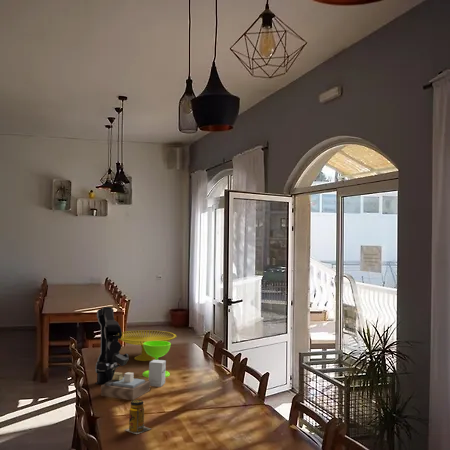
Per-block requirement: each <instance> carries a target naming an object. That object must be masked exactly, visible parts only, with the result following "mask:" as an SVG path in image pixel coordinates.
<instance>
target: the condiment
mask: <svg viewBox="0 0 450 450" xmlns="http://www.w3.org/2000/svg"><path fill="white" fill-rule="evenodd" d="M128 413H129V417H128V418H129V419H128V420H129V421H128V428H127V429H125V431H126V432H129V433H132V434H135V435H138V434H141V433H144V432H147V431H149V430H152V428H150V427H147V426H145V407H144V400H141V399H134V400H130V407H129V412H128Z"/></svg>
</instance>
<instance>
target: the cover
mask: <svg viewBox="0 0 450 450" xmlns="http://www.w3.org/2000/svg"><path fill="white" fill-rule="evenodd" d="M134 374H135V372H130V371H128V372H125V373H123V376H124V378H123V379H121V380H119V381H118V380H117V381H115V382H113V383H112V385H115V386H122V387H130V388H134V387H136V386H138V385H140V384H142V383H144V382H145V379H140V378H134V377H135V376H134Z"/></svg>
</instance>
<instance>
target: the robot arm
mask: <svg viewBox="0 0 450 450" xmlns="http://www.w3.org/2000/svg"><path fill="white" fill-rule="evenodd" d="M114 313H115V311H114V309H113V307H112V306H104V307H102V308H100V309H98V310H97V311H96V319H97V322H98V324H99V325H100V354H99V356H98V357H97V361H96V363H95V368H94V369H95V373H96V374H97V376H96V382H95V385H100V386H101V385H104V384H105V383H106V382H108V381H111V380H112V379H113V376H114V373H115V372H116V370H117V369H118V368H119V367H123V366H125V365H127V363H128V361H130V359H129V354H128V353H124V354H121V353H120V352H121V349H122V344H121V343H120V341H119V340H120V339H121V336H122V334H123V333H122V328H121V325H120V324H119V322H118V321H116V320H115V316H114V315H115V314H114ZM118 333H119V335H118ZM122 337H123V336H122Z"/></svg>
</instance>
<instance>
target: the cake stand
mask: <svg viewBox="0 0 450 450" xmlns="http://www.w3.org/2000/svg"><path fill="white" fill-rule="evenodd" d="M118 335H119V333H118ZM176 338H177V334H176V333H173V332H170V331H163V330H153V329H150V330H149V329H147V330H145V329H144V330H139V329H138V330H128V331H123V332H122V336H121V339H119V340H120V341H122V342H124V343H126V344H129V345H132V346H133V345H134V346H135V345H137V346H140V347H141V353H140V354H138V355H137V356H135V357H134V360H136V361H141V362H151V361H152V360H155V357H152V356H150V355H148V354H147V353H146V351H145V350H144V347H143V343H144V342H147V341H167V342H170V341H172V340H174V339H176Z"/></svg>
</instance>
